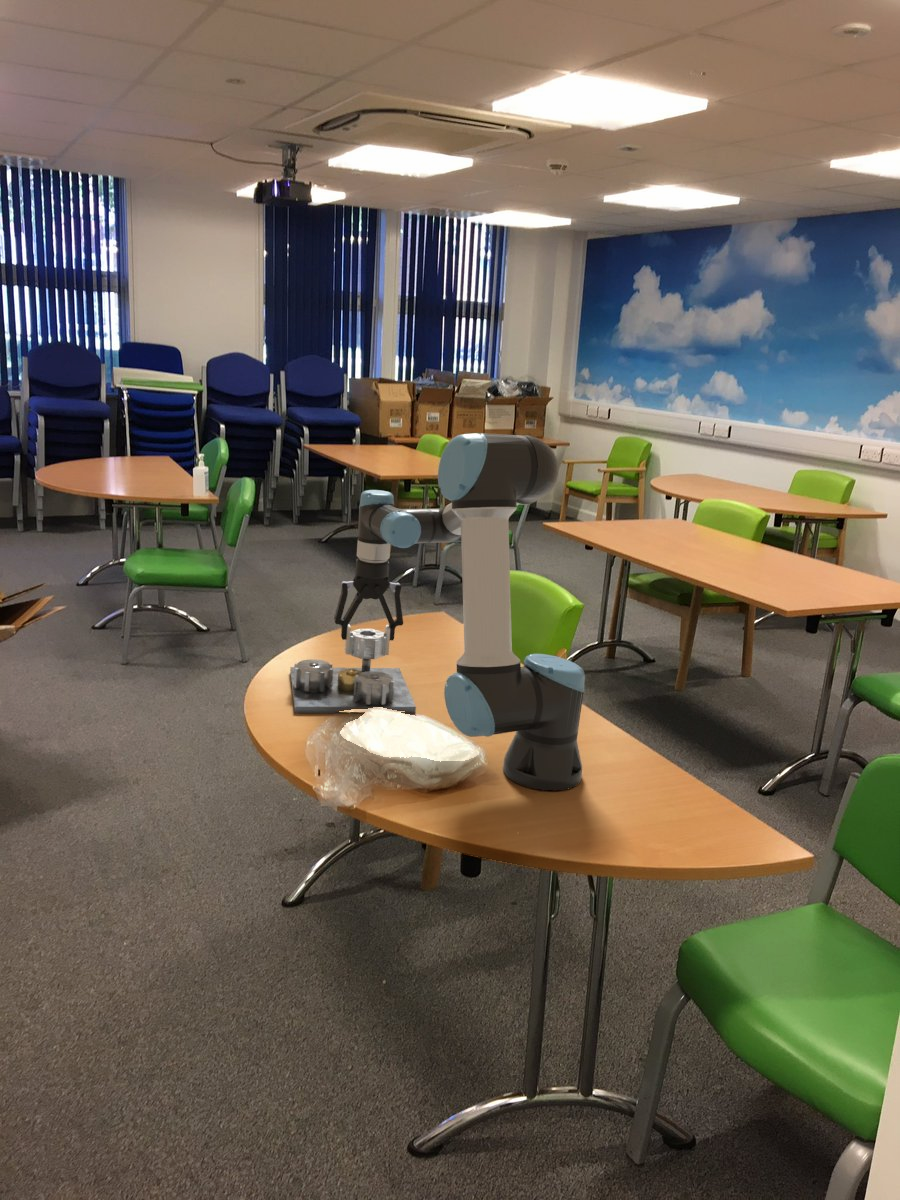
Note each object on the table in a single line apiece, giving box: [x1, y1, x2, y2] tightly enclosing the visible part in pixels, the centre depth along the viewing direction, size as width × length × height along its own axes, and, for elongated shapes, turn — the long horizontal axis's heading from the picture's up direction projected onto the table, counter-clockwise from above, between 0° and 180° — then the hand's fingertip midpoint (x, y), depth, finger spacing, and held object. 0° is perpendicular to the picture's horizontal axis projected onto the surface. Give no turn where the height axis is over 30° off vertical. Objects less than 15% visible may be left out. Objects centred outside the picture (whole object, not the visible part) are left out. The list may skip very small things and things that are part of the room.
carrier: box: [289, 658, 417, 714], centre depth 210 cm, size 24×26×7 cm
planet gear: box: [348, 628, 387, 660], centre depth 217 cm, size 8×8×5 cm
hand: (366, 652), depth 217 cm, fingers closed on planet gear, 8 cm apart
